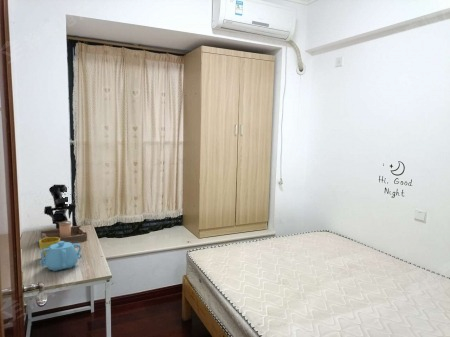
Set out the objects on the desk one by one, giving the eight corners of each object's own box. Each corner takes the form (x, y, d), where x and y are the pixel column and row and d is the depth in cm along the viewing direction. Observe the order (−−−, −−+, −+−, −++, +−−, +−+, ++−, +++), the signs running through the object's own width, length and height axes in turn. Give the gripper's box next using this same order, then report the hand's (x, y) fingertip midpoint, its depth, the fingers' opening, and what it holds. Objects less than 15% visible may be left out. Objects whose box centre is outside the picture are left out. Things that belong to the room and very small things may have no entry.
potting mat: (59, 245, 195) (59, 244, 195) (76, 242, 202) (76, 241, 202) (62, 249, 188) (62, 249, 188) (80, 246, 194) (80, 246, 194)
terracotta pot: (58, 240, 204) (57, 221, 202) (70, 238, 208) (69, 220, 207) (60, 243, 198) (60, 224, 197) (72, 241, 203) (72, 222, 202)
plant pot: (53, 260, 172) (53, 243, 171) (35, 259, 172) (35, 242, 171) (64, 253, 182) (63, 237, 181) (46, 252, 183) (46, 236, 182)
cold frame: (41, 239, 204) (41, 231, 203) (80, 233, 219) (80, 225, 219) (46, 247, 191) (46, 237, 191) (87, 239, 207) (87, 231, 206)
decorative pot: (62, 275, 154) (61, 249, 153) (36, 270, 158) (35, 244, 157) (85, 263, 170) (85, 239, 168) (61, 259, 174) (60, 235, 173)
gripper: (44, 194, 204) (47, 214, 196) (74, 192, 216) (79, 210, 208) (42, 204, 211) (45, 223, 203) (72, 201, 222) (76, 219, 215)
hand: (62, 219), depth 207 cm, fingers open, 9 cm apart
